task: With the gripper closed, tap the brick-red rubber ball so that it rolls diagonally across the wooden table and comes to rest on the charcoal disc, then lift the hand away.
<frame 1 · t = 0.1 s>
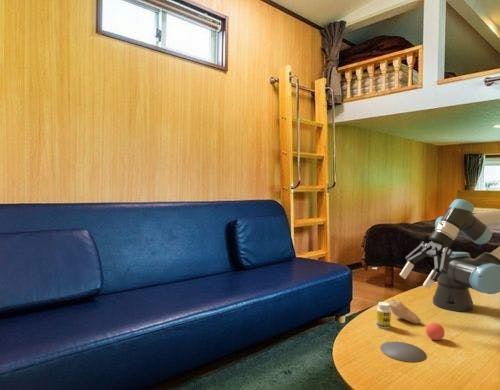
hand: (413, 281, 132), 15 cm above the table, tool tilted 35°, fingers open, 13 cm apart
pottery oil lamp: (403, 320, 135), on the table
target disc: (402, 351, 109), on the table
supplement bottle: (383, 326, 129), on the table
ball: (435, 331, 118), on the table
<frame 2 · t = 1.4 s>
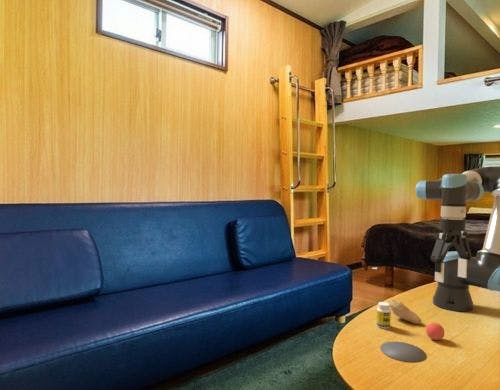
hand: (450, 279, 123), 19 cm above the table, tool pointing down, fingers open, 13 cm apart
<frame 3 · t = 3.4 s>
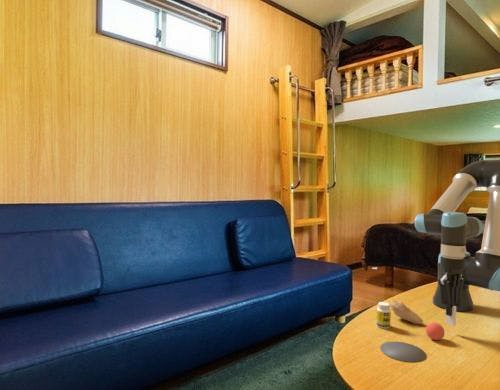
hand: (450, 324, 123), 3 cm above the table, tool pointing down, fingers closed
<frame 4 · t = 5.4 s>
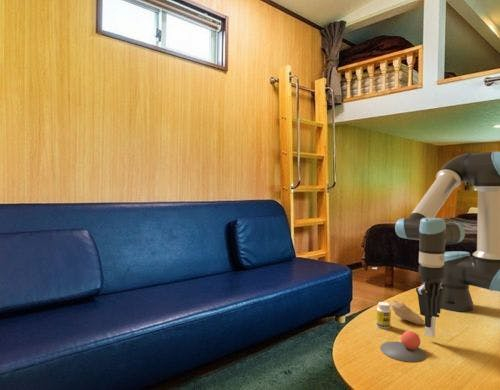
hand: (429, 335, 116), 2 cm above the table, tool pointing down, fingers closed
ball: (410, 340, 111), on the table
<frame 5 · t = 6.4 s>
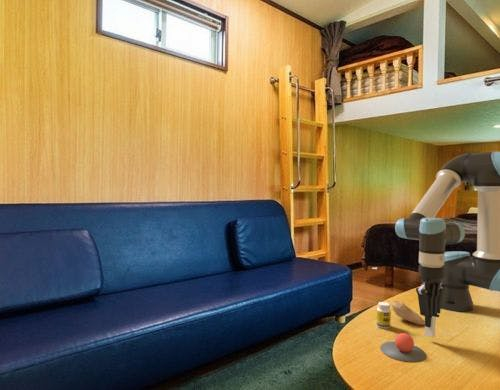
hand: (429, 335, 116), 2 cm above the table, tool pointing down, fingers closed
ball: (404, 342, 109), on the table
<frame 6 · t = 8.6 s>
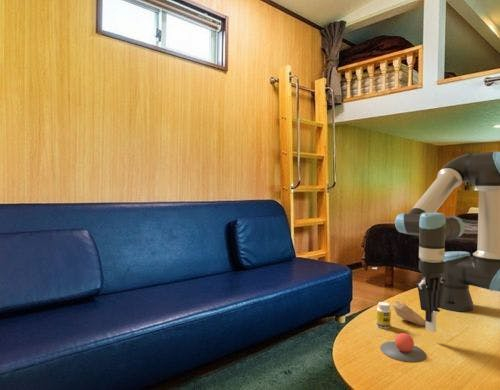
hand: (430, 330, 117), 4 cm above the table, tool pointing down, fingers closed
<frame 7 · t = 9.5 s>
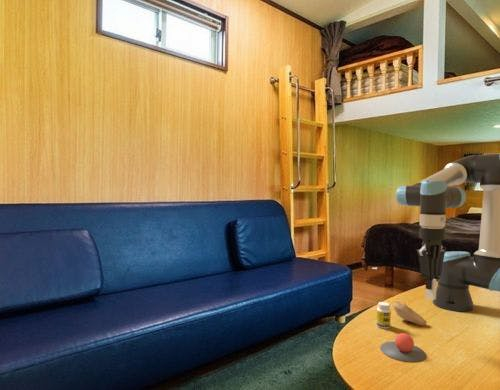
hand: (430, 298, 116), 14 cm above the table, tool pointing down, fingers closed
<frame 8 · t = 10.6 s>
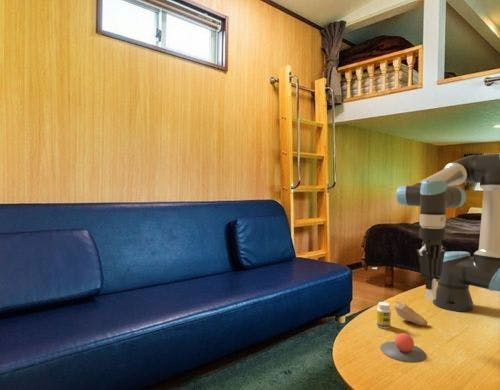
hand: (430, 298, 116), 14 cm above the table, tool pointing down, fingers closed
at the end: ball 0.5 cm from the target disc (horizontally); ball at rest at the end (0.0 cm/s); ball moved 16.5 cm from its start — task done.
